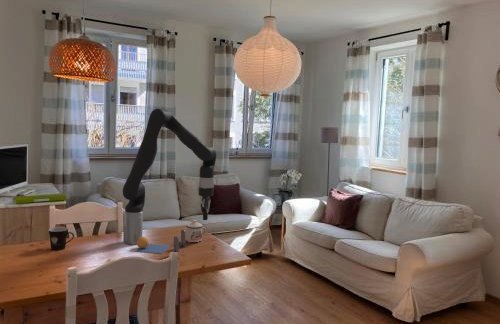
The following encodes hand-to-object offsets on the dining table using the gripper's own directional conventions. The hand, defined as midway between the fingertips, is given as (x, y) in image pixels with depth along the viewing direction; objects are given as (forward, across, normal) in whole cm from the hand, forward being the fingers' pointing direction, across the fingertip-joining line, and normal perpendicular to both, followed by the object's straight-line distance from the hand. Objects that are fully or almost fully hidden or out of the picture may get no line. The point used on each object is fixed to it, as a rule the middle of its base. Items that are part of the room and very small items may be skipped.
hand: (205, 219), depth 204 cm
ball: (+14, +1, -32) cm, 35 cm away
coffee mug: (+17, +12, -71) cm, 74 cm away
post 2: (+17, -6, -13) cm, 22 cm away
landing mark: (+17, 0, -27) cm, 32 cm away
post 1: (+17, +6, -13) cm, 22 cm away
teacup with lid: (+17, -20, -9) cm, 28 cm away
